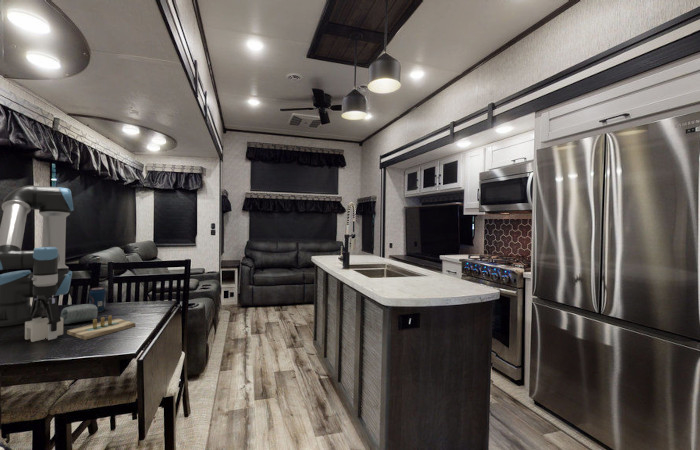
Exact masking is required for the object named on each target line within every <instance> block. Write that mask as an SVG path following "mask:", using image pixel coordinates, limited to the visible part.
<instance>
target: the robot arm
mask: <svg viewBox="0 0 700 450" xmlns="http://www.w3.org/2000/svg"><path fill="white" fill-rule="evenodd" d="M1 210H2V211H3V213H2V218H1V222H0V271H2V270H15V269H24V270H16V271H9V272H5V273H2V274H0V327H10V326H17V325H22V324H25V322H27V321H32V320H37V319H42V317H43V315H42V313H43V311H45V314H46V318H47V317H48V320H49V322H48V323H47V324H48V338H47V340H48V341H50V340H51V341H52V340H55V339H58V336H57V323H58V322H60V321H61V319H60V317H61V313H60V311H59V305H58V297H57V296H64V295H66V294H68V293H69V291H70V286H71V282H72V276H73V271H71V270H70V269H69V266H67V265H66V239H67V238H66V233H67V232H66V229H67V217H68V216H70V215H71V212H72V211H74V203H73V196H72V190H71V189H70V188H67V187H60V186H45V185H43V186H41V185H24V186H21V187H17V188H16V189H14V190H12V191H10V192H9V193H8V194H7V195H6V196H5V197H4V198H3V200H2V202H1ZM31 210H36V211H37V210H38V213H39V215H41V216H42V238H41V239H42V241H41V244H42V245H41V247H40V246H39V247H36V248H35V247H34V248H33V250H22V247H23V246H22V245H23V240H24V233H25V227H26V223H27V215H28V214H29V213H30V212H31ZM30 269H32V271H33V273H32V271H31V270H30ZM31 299H32V303H31Z"/></svg>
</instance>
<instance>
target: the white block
mask: <svg viewBox="0 0 700 450" xmlns="http://www.w3.org/2000/svg"><path fill="white" fill-rule="evenodd" d="M60 319H61V321H60V322H58V323H57V337H58V336H62V335H64V324H63V318H61V316H60ZM48 322H49V320H48V317H47V316H46V317H44V318H42V317H41V319H37V320H32V321H27V322H25V323H24V340H30V342H32V343H34V342H37V341H41V340H46V339H48V324H47V323H48ZM45 338H46V339H45Z"/></svg>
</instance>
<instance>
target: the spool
mask: <svg viewBox="0 0 700 450" xmlns="http://www.w3.org/2000/svg"><path fill="white" fill-rule="evenodd" d="M98 313H99V312H97V307H96V306H95V305H93V304H89V303H84V304H83V303H82V304H75V305H69V306H67V307H63V309H62V310H61V311H60V317H61V318H63V325H70V324H75V323H82V322H90V321H93V319H97V317H98Z"/></svg>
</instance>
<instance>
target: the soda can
mask: <svg viewBox="0 0 700 450" xmlns="http://www.w3.org/2000/svg"><path fill="white" fill-rule="evenodd" d="M106 292H107V291H106V290H105V287H102V286H101V287H100V286H99V287H92V288H90V290H89V292H88V293H89V295H88V304H93V305H95V306H96V307H97V312H98V313H101V312H104V310H105V309H106V299H107V298H106V295H107V294H106Z"/></svg>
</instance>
